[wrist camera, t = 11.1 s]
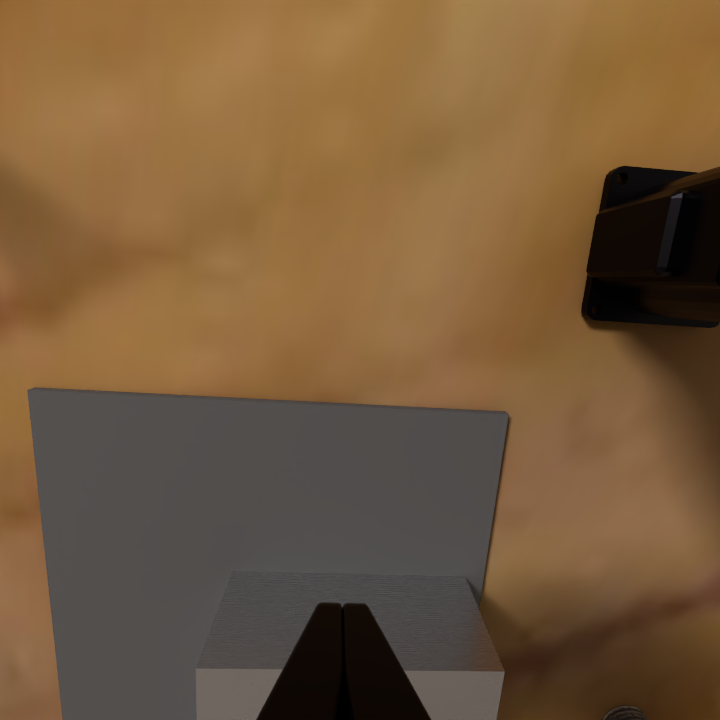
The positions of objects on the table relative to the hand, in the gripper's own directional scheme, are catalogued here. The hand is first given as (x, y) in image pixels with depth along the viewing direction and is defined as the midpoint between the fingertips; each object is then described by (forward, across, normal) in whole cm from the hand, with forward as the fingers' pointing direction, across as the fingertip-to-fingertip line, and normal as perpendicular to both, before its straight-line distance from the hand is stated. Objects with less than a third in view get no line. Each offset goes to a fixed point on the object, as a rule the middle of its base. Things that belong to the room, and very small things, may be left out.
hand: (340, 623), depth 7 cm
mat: (+12, +3, +11) cm, 17 cm away
